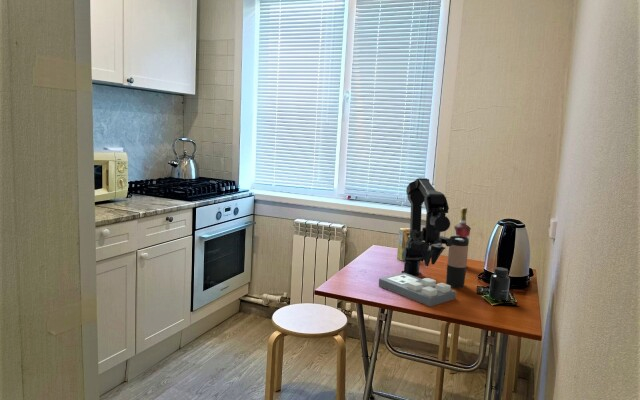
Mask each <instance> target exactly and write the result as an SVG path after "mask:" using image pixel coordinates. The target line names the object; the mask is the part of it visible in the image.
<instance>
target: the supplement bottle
mask: <svg viewBox="0 0 640 400" xmlns="http://www.w3.org/2000/svg"><path fill="white" fill-rule="evenodd" d="M508 275H509V270H508V268H505V267H501V266H500V267H499V266H498V267H496V266H495V267H494V271H493V274H491V276H490V283H489V291H488V292H489V293H488V298H489V297H491V298H492V299H495V300H507V301H508V299H509V298H508V297H509V291H510V283H511V278H510V277H509V276H508ZM492 299H491V300H492Z"/></svg>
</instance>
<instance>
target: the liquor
mask: <svg viewBox="0 0 640 400" xmlns="http://www.w3.org/2000/svg"><path fill="white" fill-rule="evenodd" d="M467 212H468V207H460V214H461V215H460V219H459V224H456V225H454V229H453V230H454V231H453V232H454V233H453V236H461V237H466V238H468V239H469V240H470V235H471V226H470V225H468V224H467Z"/></svg>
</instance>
